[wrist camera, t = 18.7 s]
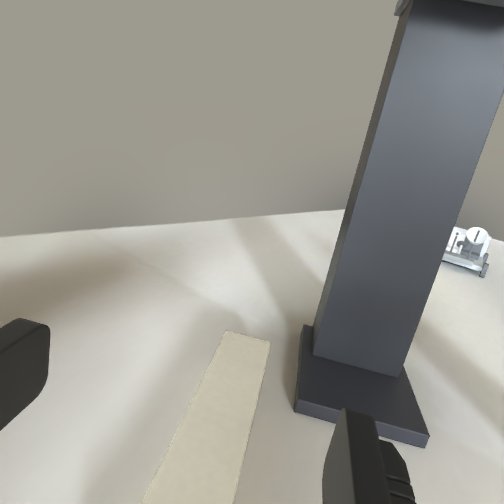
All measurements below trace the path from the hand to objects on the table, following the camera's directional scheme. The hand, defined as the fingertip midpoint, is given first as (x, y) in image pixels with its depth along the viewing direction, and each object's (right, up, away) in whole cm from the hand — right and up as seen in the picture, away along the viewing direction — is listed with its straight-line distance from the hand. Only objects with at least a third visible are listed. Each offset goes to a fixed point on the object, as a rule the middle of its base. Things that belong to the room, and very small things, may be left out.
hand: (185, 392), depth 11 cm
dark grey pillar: (+11, -8, +26) cm, 29 cm away
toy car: (+48, +1, +79) cm, 92 cm away
